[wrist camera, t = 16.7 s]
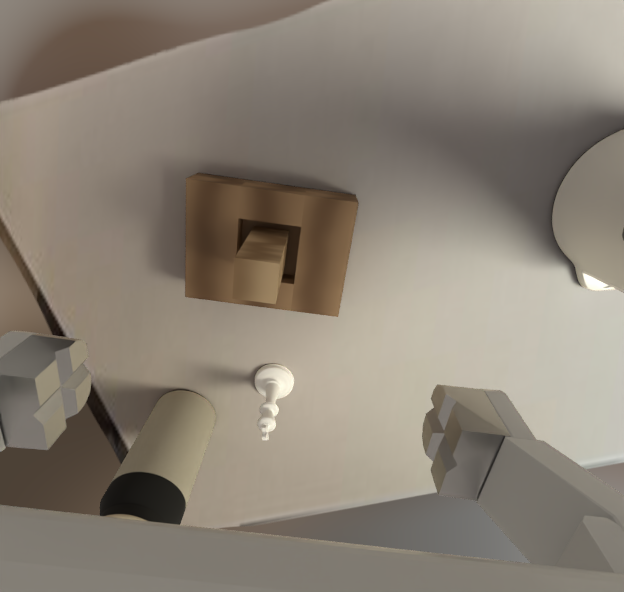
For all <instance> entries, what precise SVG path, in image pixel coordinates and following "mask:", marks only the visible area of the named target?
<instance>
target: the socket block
mask: <svg viewBox="0 0 624 592" xmlns="http://www.w3.org/2000/svg"><path fill="white" fill-rule="evenodd" d="M357 208H358V200H357V198H356V195H352V194H345V193H338V192H331V191H324V190H316V189H309V188H302V187H295V186H288V185H281V184H274V183H267V182H260V181H252V180H245V179H238V178H231V177H224V176H217V175H210V174H203V173H197V174H195V175H193V176H190V177H188V178H186V267H185V297H190V298H198V299H205V300H213V301H221V302H228V303H236V304H244V305H251V306H259V307H267V308H274V309H282V310H290V311H297V312H305V313H313V314H320V315H328V316H336V317H338V314H339V308H340V303H341V297H342V292H343V286H344V281H345V275H346V269H347V264H348V258H349V253H350V247H351V242H352V236H353V231H354V225H355V220H356V214H357ZM254 226H258V227H265V228H272V229H280V230H287V231H289V236H288V245H287V254H286V263H285V267H284V271H283V275H282V279H281V284H280V288H279V292H278V296H277V300H276V304H270V303H263V302H255V301H247V300H240V299H232V296H233V278H234V261H235V256H236V255H237V253H238V251H239V250H240V248H241V247H242V245H243V243H244V242H245V240H246V238H247V237H248V235H249V233H250V232H251V230H252V229H253V227H254Z"/></svg>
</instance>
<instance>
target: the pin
mask: <svg viewBox="0 0 624 592" xmlns="http://www.w3.org/2000/svg"><path fill="white" fill-rule="evenodd" d="M288 236H289V231H287V230H280V229H272V228H265V227H258V226H254V227H253V229H252V230H251V232H250V233H249V235H248V237H247V238H246V240H245V242H244V243H243V245H242V247H241V248H240V250H239V251H238V253H237V255H236V256H235V261H234V278H233V296H232V299H240V300H247V301H255V302H263V303H270V304H276V300H277V296H278V292H279V288H280V284H281V279H282V275H283V271H284V267H285V263H286V254H287V245H288Z"/></svg>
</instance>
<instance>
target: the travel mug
mask: <svg viewBox="0 0 624 592" xmlns="http://www.w3.org/2000/svg"><path fill="white" fill-rule="evenodd" d="M215 421H216V414H215V411H214V409H213V407H212V405H211V404H210V403H209V402H208V401H207V400H206V399H205V398H204V397H202V396H200V395H199V394H196V393H194V392H190V391H184V390H178V391H172V392H169V393H167V394H165V395H163V396H162V397H161V398H160V399H159V400H158V402H157V403H156V405H155V407H154V409H153V410H152V412H151V414H150V416H149V417H148V419H147V421H146V423H145V424H144V426H143V428H142V430H141V431H140V433H139V435H138V437H137V438H136V440H135V442H134V444H133V445H132V447H131V449H130V451H129V452H128V454H127V456H126V458H125V459H124V461H123V463H122V465H121V466H120V468H119V470H118V472H117V473H116V475H115V477H114V479H113V480H112V482H111V484H110V486H109V487H108V489H107V491H106V492H105V494H104V496H103V498H102V500H101V502H100V516H105V517H114V518H123V519H132V520H141V521H150V522H159V523H168V524H178V525H180V523H181V520H182V517H183V514H184V511H185V508H186V506H187V503H188V500H189V497H190V494H191V491H192V488H193V485H194V483H195V480H196V477H197V474H198V471H199V468H200V465H201V462H202V459H203V457H204V454H205V451H206V448H207V445H208V442H209V439H210V436H211V434H212V431H213V428H214V425H215Z"/></svg>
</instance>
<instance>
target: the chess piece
mask: <svg viewBox="0 0 624 592" xmlns="http://www.w3.org/2000/svg"><path fill="white" fill-rule="evenodd" d="M293 385H294V377H293V375H292V373H291V372H290V371H289V370H288V369H287V368H286V367H284V366H282V365H278V364H268V365H265V366H263V367H261V368H260V369H259V370H258V371H257V373H256V375H255V387H256V389H257V390H258V392H259V393H260V394H261V395H263V396H265V397H266V402H265V403H263V404H262V405H261V406H260V413H261V414H262V416H261V417H260V418H259V420H258V422H257V426H258V428H259V429H260V430H262V432H263V433H262V440H268V438H269V436H268V432H270V431H272V430H274V429H275V427H276V422H275V419H274V417H275V416H276V415H277V414H278V411H279V409H278V406H277V405H276V404H275V402H276V399H279V398H283V397H285V396H286V395H288V394H289V393H290V392H291V390H292V388H293Z"/></svg>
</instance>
